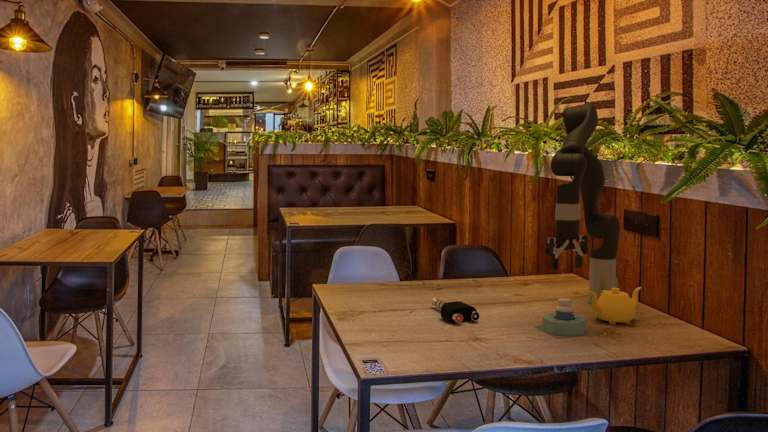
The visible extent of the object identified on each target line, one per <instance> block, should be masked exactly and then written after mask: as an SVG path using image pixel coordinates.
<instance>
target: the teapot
mask: <svg viewBox="0 0 768 432" xmlns="http://www.w3.org/2000/svg"><path fill="white" fill-rule="evenodd" d="M641 288H642V286H638V287H636V288H634V290H633V293H632V295H631V297H630V295H629V293H627V292H626V291H621V289H620V288H619V287H617V288H611V289H612V291H607V290H603V291H601V293H600V297H599V298H598V300H597V295H596V293H594V292H591V291H589V290H588V293H589V292H590V293H591V295H592V304H591V306H592V309H593V311H594V314H595V316H596V317H597V318H598V319H599V320H600V321H606V322H608V324H609V325H616V323H623V325H631V321H632V320H633V319H634V318H635V317H636V313H637V311H636V309H637V307H638V303H639V296H638V295H639V291H640V290H641Z"/></svg>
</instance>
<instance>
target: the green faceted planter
mask: <svg viewBox="0 0 768 432" xmlns="http://www.w3.org/2000/svg"><path fill="white" fill-rule="evenodd" d="M542 325H543V330H544V331H546V332H548V333H550V334H553V335H561V336H577V335H583V334H584V333H585V331H586V329H587V317H585V316H583V315H580V314H577V313H573V320H570V321H564V320H557V319H556V312H551V313H546V314H545V315H543V317H542ZM577 337H578V336H577Z"/></svg>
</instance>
